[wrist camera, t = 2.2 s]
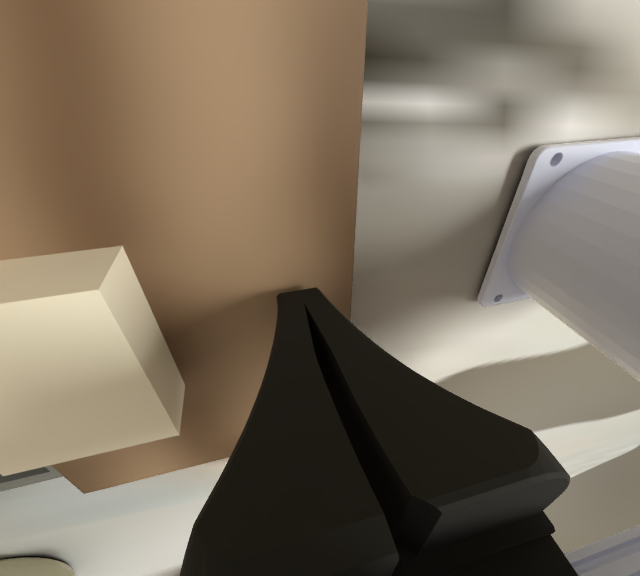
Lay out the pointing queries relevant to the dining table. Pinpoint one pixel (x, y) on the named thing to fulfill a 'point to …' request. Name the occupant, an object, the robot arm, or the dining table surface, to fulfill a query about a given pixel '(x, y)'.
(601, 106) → the dining table surface
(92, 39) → the board
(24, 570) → the teacup
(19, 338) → the tile
